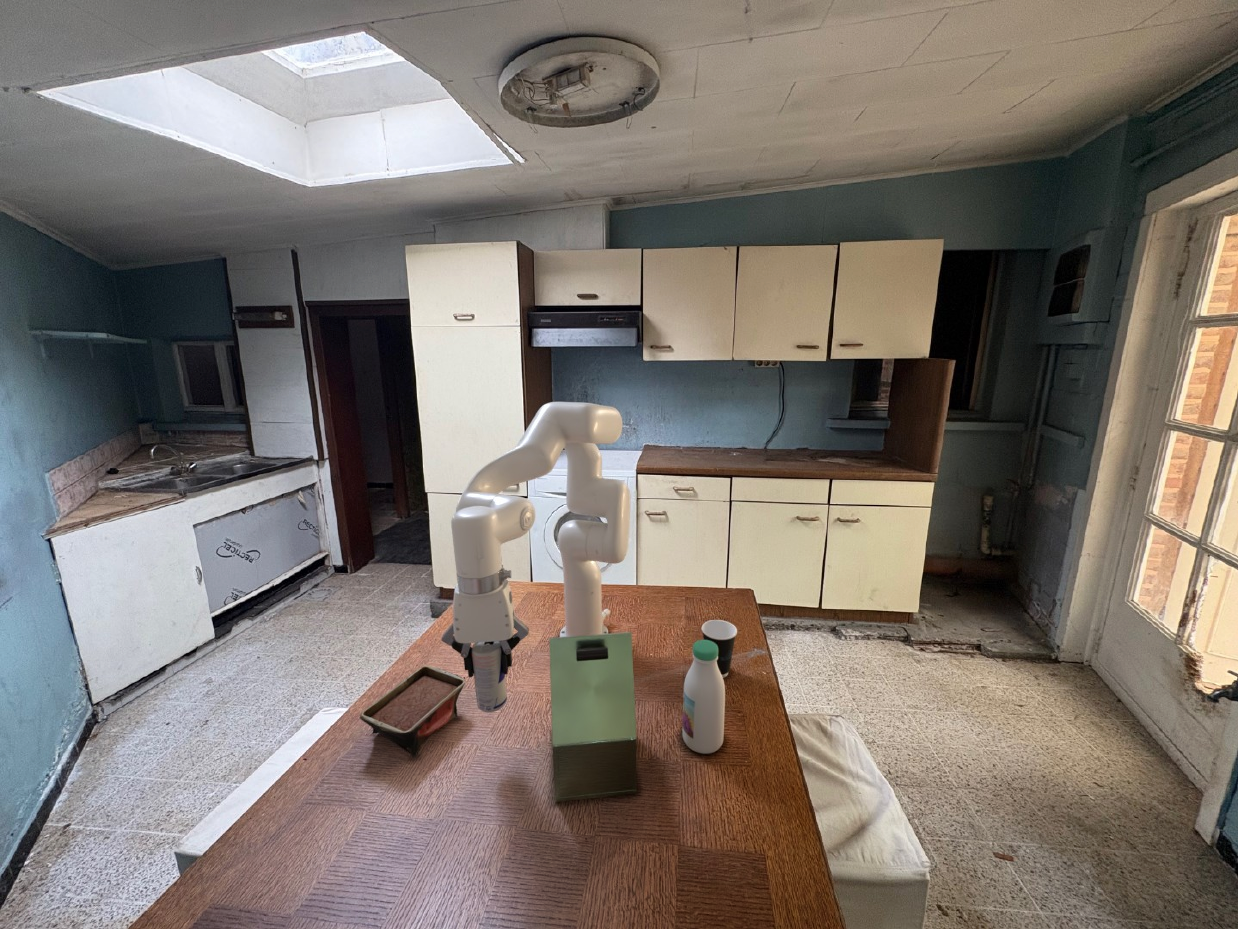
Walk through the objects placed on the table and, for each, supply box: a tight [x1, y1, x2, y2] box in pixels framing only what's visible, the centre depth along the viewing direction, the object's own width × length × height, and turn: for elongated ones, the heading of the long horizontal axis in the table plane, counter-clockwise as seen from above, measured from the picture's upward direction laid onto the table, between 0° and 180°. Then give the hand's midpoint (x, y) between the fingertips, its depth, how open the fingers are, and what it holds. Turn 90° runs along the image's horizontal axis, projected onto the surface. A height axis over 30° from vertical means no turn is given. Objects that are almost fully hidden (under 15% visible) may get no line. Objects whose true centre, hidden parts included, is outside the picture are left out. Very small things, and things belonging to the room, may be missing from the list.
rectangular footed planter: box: [359, 665, 466, 758], centre depth 99 cm, size 14×18×10 cm
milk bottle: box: [682, 639, 726, 755], centre depth 93 cm, size 8×8×20 cm
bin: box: [552, 737, 638, 803], centre depth 90 cm, size 16×14×11 cm
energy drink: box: [471, 641, 508, 713], centre depth 90 cm, size 5×5×12 cm
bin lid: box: [548, 631, 638, 746], centre depth 80 cm, size 16×14×5 cm
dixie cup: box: [701, 619, 738, 679], centre depth 114 cm, size 8×8×11 cm
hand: (489, 670), depth 90 cm, fingers closed on energy drink, 5 cm apart
